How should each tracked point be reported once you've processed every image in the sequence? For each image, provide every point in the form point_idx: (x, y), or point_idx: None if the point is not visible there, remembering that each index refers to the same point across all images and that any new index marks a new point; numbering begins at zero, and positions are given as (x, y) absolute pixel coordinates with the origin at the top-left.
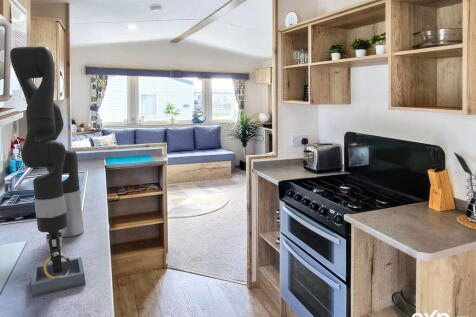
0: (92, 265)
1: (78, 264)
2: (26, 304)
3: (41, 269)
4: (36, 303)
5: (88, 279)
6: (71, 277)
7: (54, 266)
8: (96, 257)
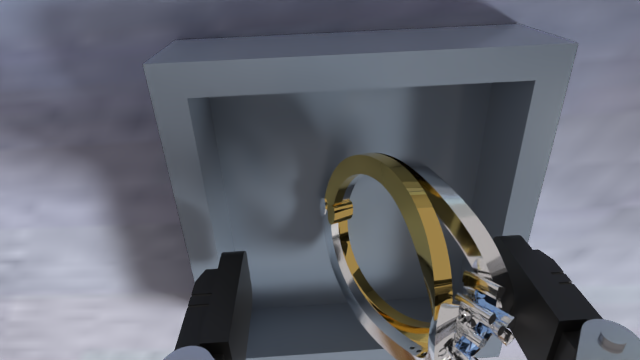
0: None
1: None
2: (74, 2)
3: (513, 106)
4: (72, 73)
5: None
6: None
7: (185, 316)
8: None
